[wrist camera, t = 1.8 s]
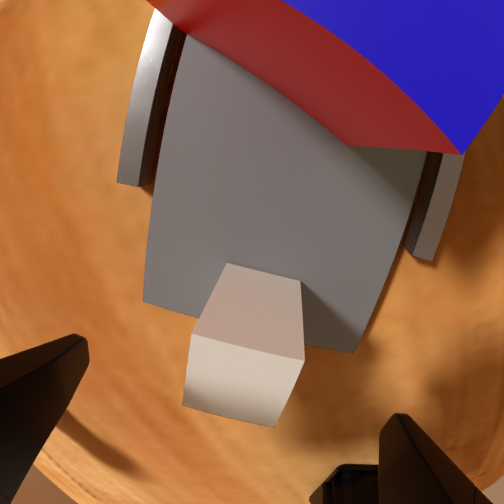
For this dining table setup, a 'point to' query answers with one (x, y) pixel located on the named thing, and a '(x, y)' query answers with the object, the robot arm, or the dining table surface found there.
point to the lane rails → (149, 119)
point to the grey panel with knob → (265, 234)
